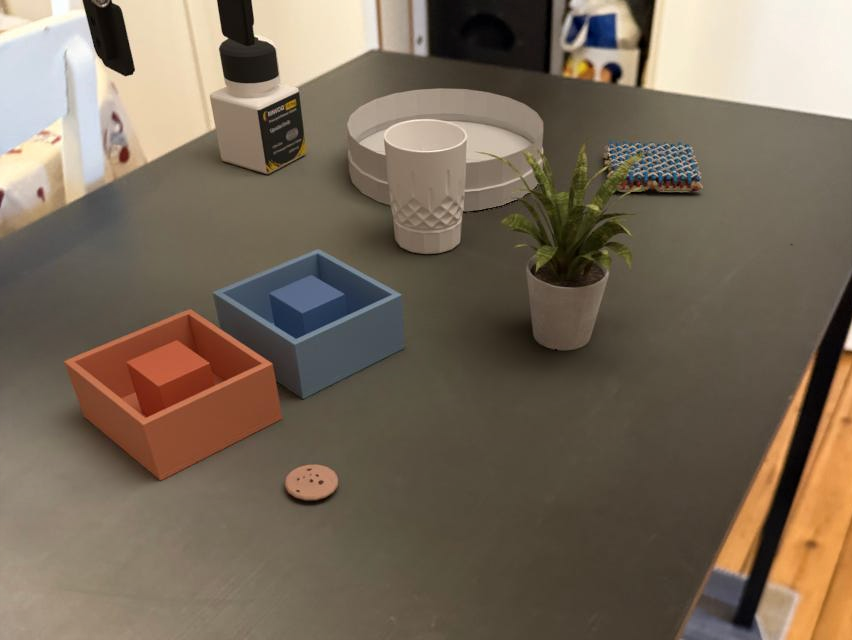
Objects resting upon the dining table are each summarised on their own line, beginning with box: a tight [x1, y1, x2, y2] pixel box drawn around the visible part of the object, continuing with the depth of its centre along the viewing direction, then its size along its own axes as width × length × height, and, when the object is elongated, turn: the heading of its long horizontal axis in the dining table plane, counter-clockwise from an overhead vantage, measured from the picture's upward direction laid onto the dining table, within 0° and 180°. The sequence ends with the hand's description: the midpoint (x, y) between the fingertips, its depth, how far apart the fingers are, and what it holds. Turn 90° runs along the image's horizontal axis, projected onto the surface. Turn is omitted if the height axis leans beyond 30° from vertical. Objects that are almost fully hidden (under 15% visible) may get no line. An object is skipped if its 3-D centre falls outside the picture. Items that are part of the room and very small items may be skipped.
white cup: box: [384, 119, 467, 255], centre depth 90 cm, size 8×8×10 cm
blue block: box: [269, 275, 347, 339], centre depth 78 cm, size 4×4×4 cm
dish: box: [346, 88, 544, 211], centre depth 103 cm, size 22×22×5 cm
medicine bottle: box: [209, 34, 307, 175], centre depth 102 cm, size 7×7×12 cm
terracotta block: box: [126, 340, 215, 417], centre depth 71 cm, size 4×4×4 cm
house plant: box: [474, 135, 650, 351], centre depth 76 cm, size 14×14×16 cm
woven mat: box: [602, 140, 704, 192], centre depth 104 cm, size 10×11×2 cm
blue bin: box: [212, 248, 406, 400], centre depth 78 cm, size 11×11×5 cm
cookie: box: [284, 464, 339, 501], centre depth 67 cm, size 4×4×1 cm
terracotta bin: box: [63, 308, 283, 481], centre depth 71 cm, size 11×11×5 cm
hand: (181, 55), depth 64 cm, fingers open, 9 cm apart
